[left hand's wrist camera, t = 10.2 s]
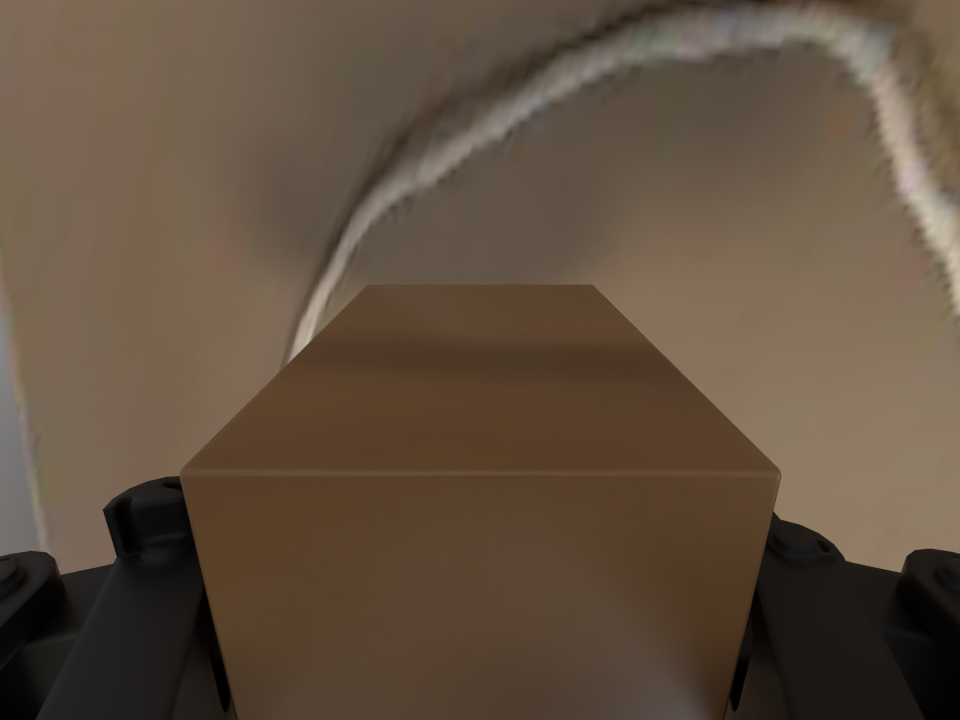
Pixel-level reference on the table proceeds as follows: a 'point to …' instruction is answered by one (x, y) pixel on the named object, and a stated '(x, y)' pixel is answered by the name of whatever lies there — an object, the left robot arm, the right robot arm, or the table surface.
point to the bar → (480, 519)
